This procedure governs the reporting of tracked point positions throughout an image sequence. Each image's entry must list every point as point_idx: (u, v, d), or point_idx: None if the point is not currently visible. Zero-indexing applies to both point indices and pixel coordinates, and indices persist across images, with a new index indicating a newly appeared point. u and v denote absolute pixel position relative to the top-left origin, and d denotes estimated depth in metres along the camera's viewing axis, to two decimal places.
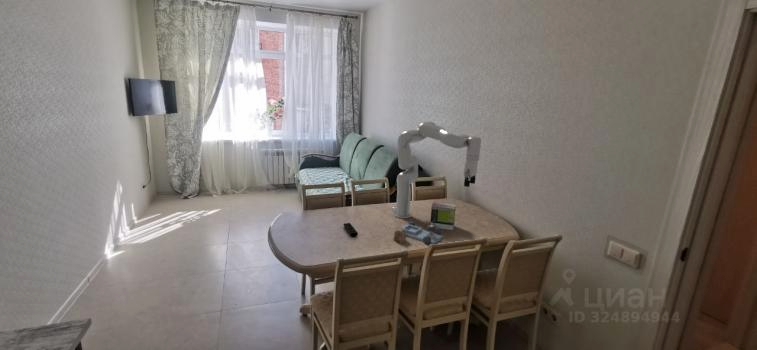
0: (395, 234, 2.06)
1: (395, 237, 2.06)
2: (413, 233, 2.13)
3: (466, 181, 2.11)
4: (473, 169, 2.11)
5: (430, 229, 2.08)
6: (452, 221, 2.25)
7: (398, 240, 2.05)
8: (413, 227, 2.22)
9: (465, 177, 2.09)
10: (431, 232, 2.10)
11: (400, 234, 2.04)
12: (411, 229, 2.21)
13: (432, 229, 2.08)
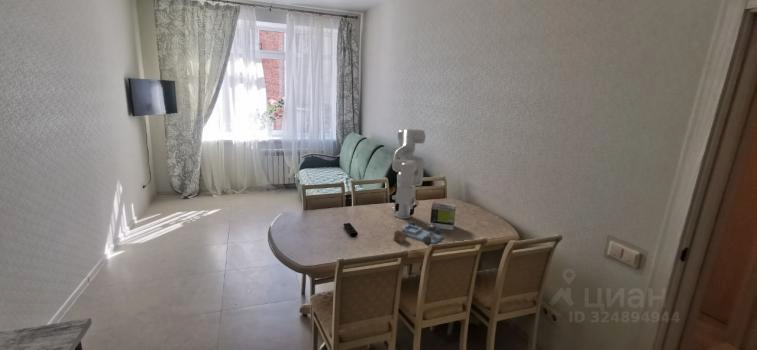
0: (395, 234, 2.06)
1: (395, 237, 2.06)
2: (413, 233, 2.13)
3: (413, 209, 2.00)
4: None
5: (430, 229, 2.08)
6: (452, 221, 2.25)
7: (398, 240, 2.05)
8: (413, 227, 2.22)
9: (416, 205, 1.98)
10: (431, 232, 2.10)
11: (400, 234, 2.04)
12: (411, 229, 2.21)
13: (432, 229, 2.08)
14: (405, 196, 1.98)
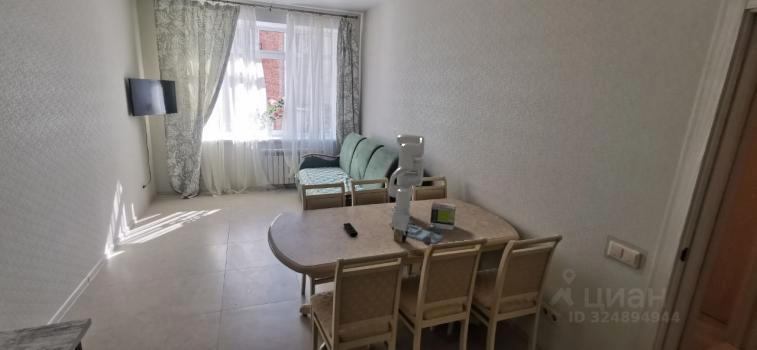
0: (395, 234, 2.05)
1: (395, 237, 2.06)
2: (413, 233, 2.13)
3: (405, 236, 2.04)
4: None
5: (430, 229, 2.08)
6: (452, 221, 2.25)
7: (398, 240, 2.05)
8: (413, 227, 2.22)
9: None
10: (431, 232, 2.10)
11: (400, 234, 2.03)
12: None
13: (432, 229, 2.08)
14: (400, 222, 2.01)
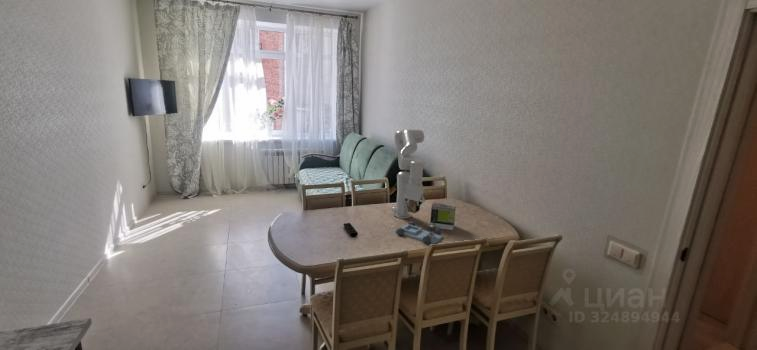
0: (409, 205, 2.13)
1: (409, 207, 2.14)
2: (413, 233, 2.13)
3: (419, 206, 2.12)
4: None
5: (430, 229, 2.08)
6: (452, 221, 2.25)
7: (411, 210, 2.13)
8: (413, 227, 2.22)
9: None
10: (431, 232, 2.10)
11: (414, 204, 2.11)
12: (411, 229, 2.21)
13: (432, 229, 2.08)
14: (414, 192, 2.09)
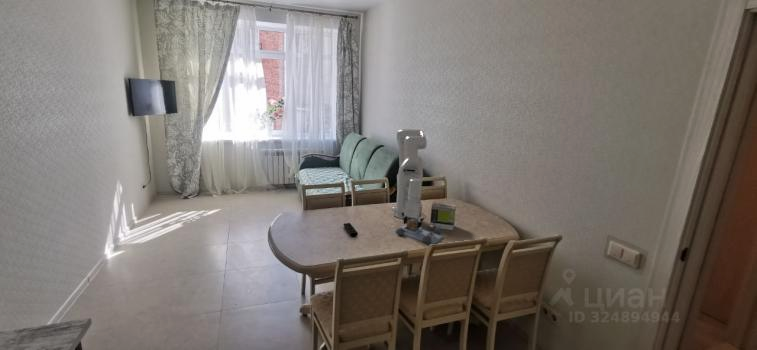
0: (407, 224, 2.17)
1: (407, 227, 2.17)
2: (413, 233, 2.13)
3: (420, 222, 2.14)
4: None
5: (430, 229, 2.08)
6: (452, 221, 2.25)
7: (410, 230, 2.16)
8: None
9: (423, 219, 2.12)
10: (431, 232, 2.10)
11: (412, 224, 2.14)
12: None
13: (432, 229, 2.08)
14: (413, 210, 2.12)
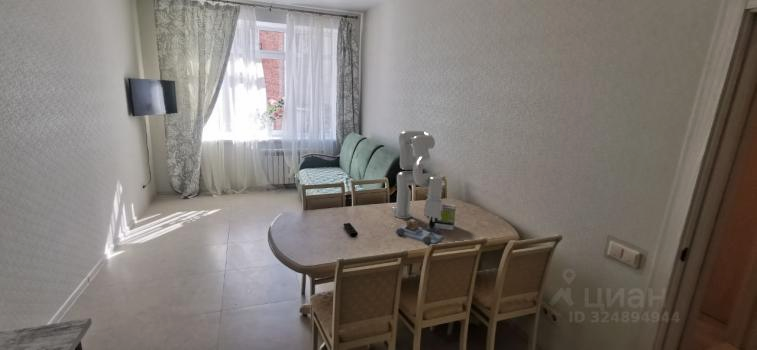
0: (407, 224, 2.17)
1: (407, 227, 2.17)
2: (413, 233, 2.13)
3: (434, 222, 2.08)
4: None
5: (430, 230, 2.08)
6: (452, 221, 2.25)
7: (410, 230, 2.16)
8: None
9: (437, 219, 2.07)
10: (431, 233, 2.10)
11: (412, 224, 2.14)
12: None
13: (432, 230, 2.08)
14: (433, 209, 2.04)
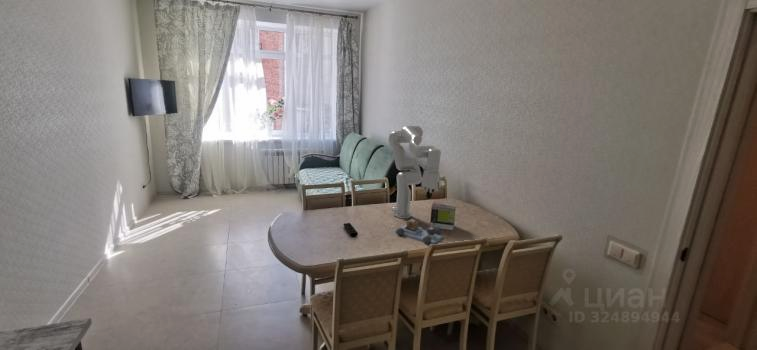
0: (407, 224, 2.17)
1: (407, 227, 2.17)
2: (413, 233, 2.13)
3: (431, 193, 2.15)
4: None
5: (430, 232, 2.08)
6: (452, 221, 2.25)
7: (410, 230, 2.16)
8: None
9: (434, 190, 2.13)
10: (431, 234, 2.10)
11: (412, 224, 2.14)
12: None
13: (432, 232, 2.08)
14: (431, 180, 2.10)
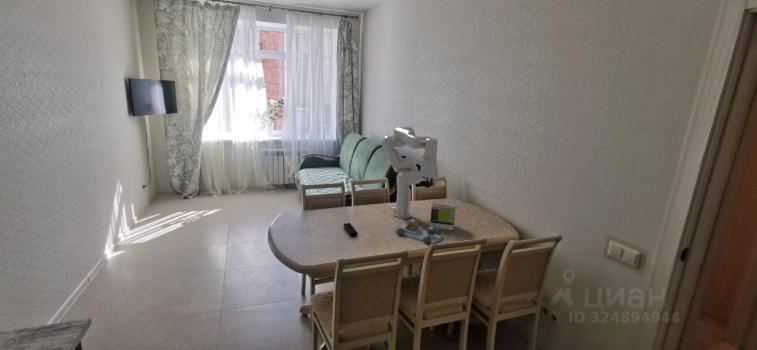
0: (407, 224, 2.17)
1: (407, 227, 2.17)
2: (413, 233, 2.13)
3: (430, 182, 2.20)
4: None
5: (430, 232, 2.08)
6: (452, 221, 2.25)
7: (410, 230, 2.16)
8: None
9: (432, 179, 2.19)
10: (431, 234, 2.10)
11: (412, 224, 2.14)
12: None
13: (432, 232, 2.08)
14: (429, 169, 2.16)
